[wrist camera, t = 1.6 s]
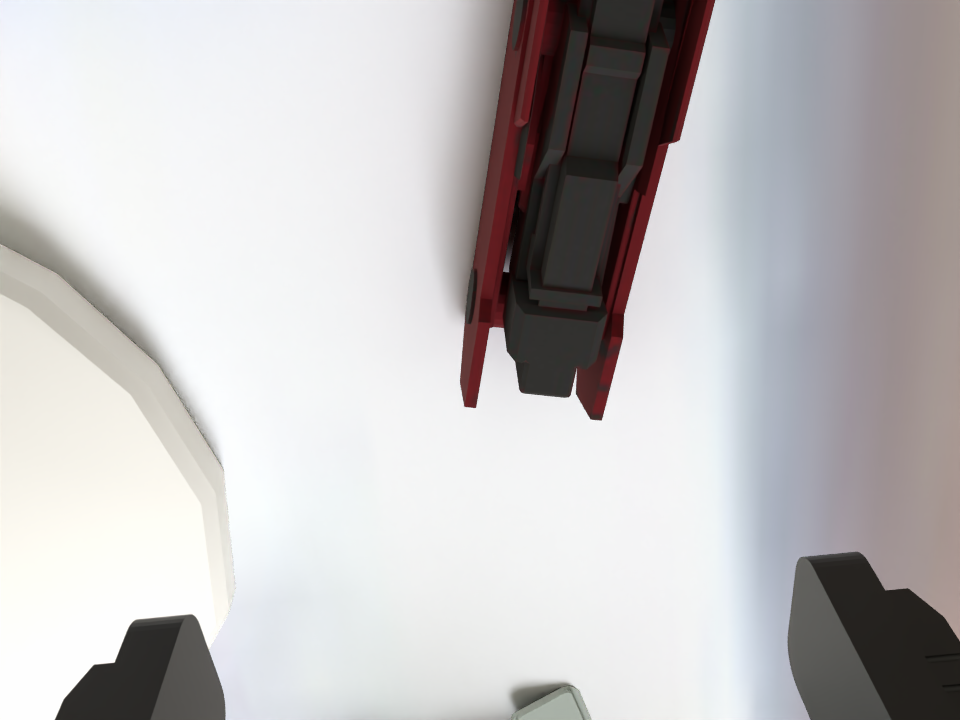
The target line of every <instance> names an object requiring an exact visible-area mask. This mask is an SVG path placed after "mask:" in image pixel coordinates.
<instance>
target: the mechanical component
mask: <svg viewBox="0 0 960 720" xmlns="http://www.w3.org/2000/svg"><path fill="white" fill-rule="evenodd" d="M714 3H715V0H514V3H513V9H512V16H511V22H510V29H509V35H508V42H507V48H506V55H505V61H504V68H503V74H502V81H501V87H500V93H499V100H498V106H497V113H496V119H495V126H494V132H493V139H492V145H491V152H490V158H489V165H488V171H487V178H486V184H485V191H484V197H483V204H482V210H481V217H480V223H479V230H478V236H477V243H476V249H475V256H474V262H473V269H472V271H471V275H470V280H469V287H468V295H467V305H466V314H465V326H464V338H463V351H462V363H461V376H460V385H461V390H462V396H463V401H464V407H472V408H476V404H477V399H478V393H479V387H480V381H481V375H482V369H483V363H484V358H485V352H486V346H487V340H488V334H489V328H492V327H501V328H504V332H505V339H506V347H507V352H508V353H509V354H510V356H511V357H512V358H513V359H514V361H515V363H516V370H517V377H518V383H519V390H520V391H521V392H522V393H525V394H534V395H544V396H554V397H564V398H566V397H569V396H570V395H571V391H572V387H573V382H574V378H575V374H576V369H577V382H576V395H577V397H578V398H579V400H580V402H581V404H582V405H583V407H584V409H585V410H586V412H587V414H588V416H589V417H590V419H592V420H602V418H603V414H604V410H605V406H606V402H607V398H608V394H609V390H610V386H611V383H612V379H613V375H614V371H615V367H616V363H617V359H618V355H619V351H620V348H621V344H622V340H623V326H624V312H625V309H626V305H627V301H628V297H629V293H630V290H631V286H632V282H633V278H634V274H635V271H636V267H637V263H638V259H639V255H640V252H641V248H642V244H643V240H644V236H645V233H646V229H647V225H648V221H649V217H650V214H651V210H652V206H653V202H654V198H655V195H656V191H657V187H658V183H659V179H660V176H661V172H662V168H663V164H664V160H665V157H666V153H667V149H668V145H669V144H671V143H675V142H677V141H679V140H680V137H681V133H682V129H683V125H684V121H685V117H686V113H687V109H688V105H689V101H690V97H691V93H692V89H693V86H694V82H695V78H696V74H697V70H698V66H699V62H700V58H701V54H702V50H703V46H704V42H705V38H706V34H707V31H708V27H709V23H710V19H711V15H712V11H713V7H714ZM517 190H519V197H518V207H519V208H520V210H519V215H518V221H517V226H516V232H515V237H514V243H513V248H512V254H511V259H510V265H509V272H503V269H504V263H505V257H506V252H507V246H508V240H509V234H510V229H511V223H512V217H513V212H514V206H515V200H516V194H517Z"/></svg>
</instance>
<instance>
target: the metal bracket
mask: <svg viewBox="0 0 960 720" xmlns="http://www.w3.org/2000/svg"><path fill="white" fill-rule="evenodd" d="M511 720H591V717H590V715H589V712H588V710H587V708H586V705H585V703H584V701H583V698H582V696H581V694H580V691H579V690H577V689H576V688H574V687H572V686H564V687H561V688H559V689H558V690H556V691H554V692H552V693H550V694H548V695H546V696H545V697H543V698H541V699H539V700H537V701H535V702H533V703H532V704H530V705H528V706H526V707H524V708H522V709H520V710H519V711H517V712H515V713H514V714H513V715H512V717H511Z"/></svg>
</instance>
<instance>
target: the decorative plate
mask: <svg viewBox="0 0 960 720" xmlns="http://www.w3.org/2000/svg"><path fill="white" fill-rule="evenodd" d="M235 589H236V586H235V576H234V566H233V556H232V547H231V537H230V527H229V517H228V508H227V498H226V488H225V478H224V470H223V468H222V467H221V465H220V463H219V462H218V460H217V459H216V457H215V455H214V454H213V452H212V451H211V449H210V447H209V446H208V444H207V443H206V441H205V439H204V438H203V436H202V434H201V433H200V431H199V430H198V428H197V426H196V425H195V423H194V422H193V420H192V418H191V417H190V415H189V414H188V412H187V410H186V409H185V407H184V406H183V404H182V402H181V401H180V399H179V398H178V396H177V394H176V393H175V391H174V389H173V388H172V386H171V385H170V383H169V381H168V380H167V378H166V377H165V375H164V373H163V372H162V370H161V369H160V367H159V365H158V364H157V363H156V362H155V361H153V360H152V359H151V358H150V357H149V356H148V355H147V354H146V353H145V352H143V351H142V350H141V349H140V348H139V347H138V346H137V345H136V344H135V343H133V342H132V341H131V340H130V339H129V338H128V337H127V336H126V335H125V334H123V333H122V332H121V331H120V330H119V329H118V328H117V327H116V326H115V325H114V324H112V323H111V322H110V321H109V320H108V319H107V318H106V317H105V316H104V315H102V314H101V313H100V312H99V311H98V310H97V309H96V308H95V307H94V306H92V305H91V304H90V303H89V302H88V301H87V300H86V299H85V298H84V297H82V296H81V295H80V294H79V293H78V292H77V291H76V290H75V289H74V288H72V287H71V286H70V285H69V284H68V283H67V282H66V281H65V280H64V279H63V278H61V277H60V276H59V275H58V274H57V273H55V272H53V271H51V270H49V269H47V268H45V267H44V266H42V265H40V264H38V263H36V262H34V261H32V260H30V259H28V258H26V257H24V256H23V255H21V254H19V253H17V252H15V251H13V250H11V249H9V248H7V247H5V246H3V245H2V244H0V720H55V718H56V716H57V713H58V711H59V709H60V707H61V704H62V702H63V700H64V698H65V697H66V696H67V695H68V694H69V693H70V691H71V690H72V689H73V688H74V687H75V686H76V684H77V683H78V682H79V681H80V680H81V679H82V678H83V676H84V675H85V674H86V673H87V672H88V671H89V670H90V668H91V667H92V666H93V665H95V664H105V663H115V660H116V658H117V655H118V652H119V650H120V647H121V645H122V642H123V640H124V637H125V635H126V632H127V630H128V628H129V626H130V625H131V623H132V622H133V621H135V620H136V619H146V618H157V617H167V616H177V615H188V614H192V615H194V616H195V617H196V618H197V620H198V621H199V624H200V627H201V629H202V632H203V635H204V638H205V641H206V644H207V646H208V649H210V647H211V645H212V643H213V641H214V640H215V638H216V636H217V634H218V632H219V630H220V629H221V627H222V625H223V623H224V621H225V619H226V618H227V616H228V614H229V612H230V608H231V604H232V600H233V597H234V593H235Z"/></svg>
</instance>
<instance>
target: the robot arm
mask: <svg viewBox="0 0 960 720" xmlns="http://www.w3.org/2000/svg"><path fill="white" fill-rule="evenodd" d="M788 653H789V660H790V665H791V670H792V674H793V677H794V680H795V683H796V686H797V688H798V691H799V693H800V696H801V698H802V700H803V703H804V705H805V707H806V710H807V712H808V714H809V717H810V719H811V720H960V641H959V639H958V638H957V636H956V635H955V633H954V632H953V630H952V629H951V627H950V626H949V624H948V622H947V621H946V619H945V618H944V617H943V616H942V615H941V614H939V613H938V612H937V611H936V610H934V609H933V608H932V607H931V606H930V605H928V604H927V603H926V602H925V601H923V600H922V599H921V598H920V597H918V596H917V595H916V594H915V593H913V592H912V591H911V590H910V589H908V588H907V589H897V590H886V591H885V589H884V588H883V586H882V584H881V582H880V581H879V579H878V577H877V576H876V574H875V572H874V571H873V569H872V567H871V566H870V564H869V562H868V561H867V559H866V558H865V557H864V556H863V555H862V554H861V553H859V552H849V553H839V554H829V555H818V556H808V557H801V558H799V560H798V562H797V565H796V571H795V580H794V588H793V597H792V605H791V613H790V622H789V630H788ZM55 720H225V700H224V694H223V690H222V686H221V683H220V680H219V678H218V675H217V672H216V669H215V666H214V663H213V661H212V658H211V655H210V652H209V649H208V646H207V644H206V641H205V638H204V635H203V632H202V629H201V627H200V624H199V621H198V620H197V618H196V617H195V616H194V615H192V614H188V615H177V616H167V617H157V618H146V619H136V620H135V621H133V622H132V623H131V625H130V626H129V628H128V630H127V632H126V635H125V637H124V640H123V642H122V645H121V647H120V650H119V652H118V655H117V658H116V660H115V663H105V664H95V665H93V666H92V667H91V668H90V670H89V671H88V672H87V673H86V674H85V675H84V676H83V678H82V679H81V680H80V681H79V682H78V683H77V684H76V686H75V687H74V688H73V689H72V690H71V691H70V693H69V694H68V695H67V696H66V697H65V698H64V700H63V702H62V704H61V707H60V709H59V711H58V713H57V716H56V718H55Z"/></svg>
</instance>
